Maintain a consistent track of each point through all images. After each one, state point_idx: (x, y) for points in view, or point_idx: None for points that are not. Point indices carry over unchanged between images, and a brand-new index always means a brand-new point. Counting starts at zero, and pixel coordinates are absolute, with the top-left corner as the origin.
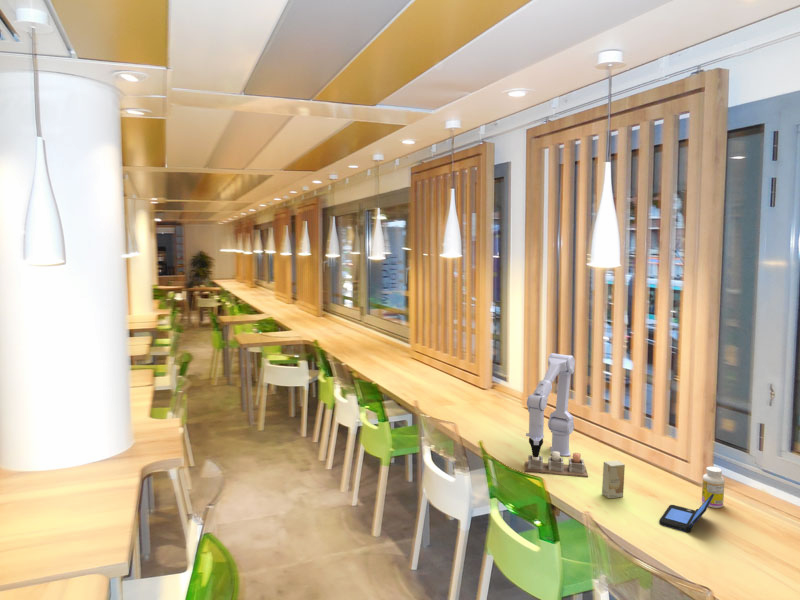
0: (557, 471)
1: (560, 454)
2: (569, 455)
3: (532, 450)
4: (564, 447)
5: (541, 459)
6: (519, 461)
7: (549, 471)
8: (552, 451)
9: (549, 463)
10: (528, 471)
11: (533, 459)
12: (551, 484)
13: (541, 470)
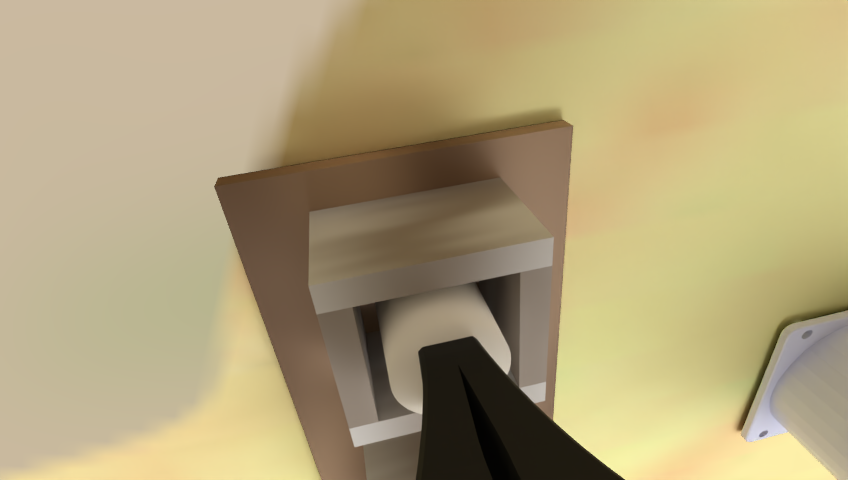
0: (364, 459)
1: (769, 390)
2: (744, 438)
3: (422, 454)
4: (826, 464)
5: (415, 420)
6: (600, 28)
7: (331, 412)
8: (842, 331)
9: (368, 477)
10: (231, 221)
11: (392, 332)
12: (20, 476)
13: (322, 349)
